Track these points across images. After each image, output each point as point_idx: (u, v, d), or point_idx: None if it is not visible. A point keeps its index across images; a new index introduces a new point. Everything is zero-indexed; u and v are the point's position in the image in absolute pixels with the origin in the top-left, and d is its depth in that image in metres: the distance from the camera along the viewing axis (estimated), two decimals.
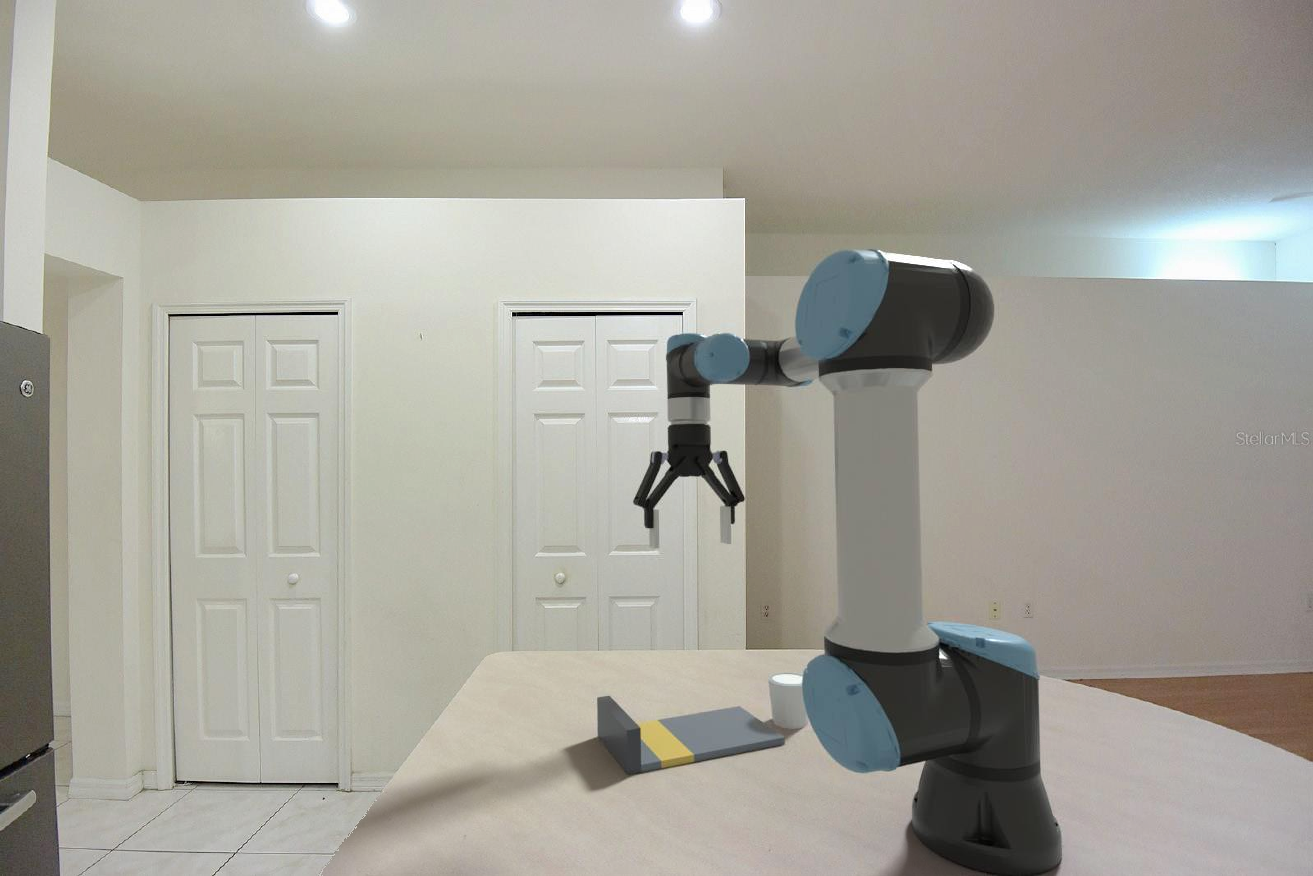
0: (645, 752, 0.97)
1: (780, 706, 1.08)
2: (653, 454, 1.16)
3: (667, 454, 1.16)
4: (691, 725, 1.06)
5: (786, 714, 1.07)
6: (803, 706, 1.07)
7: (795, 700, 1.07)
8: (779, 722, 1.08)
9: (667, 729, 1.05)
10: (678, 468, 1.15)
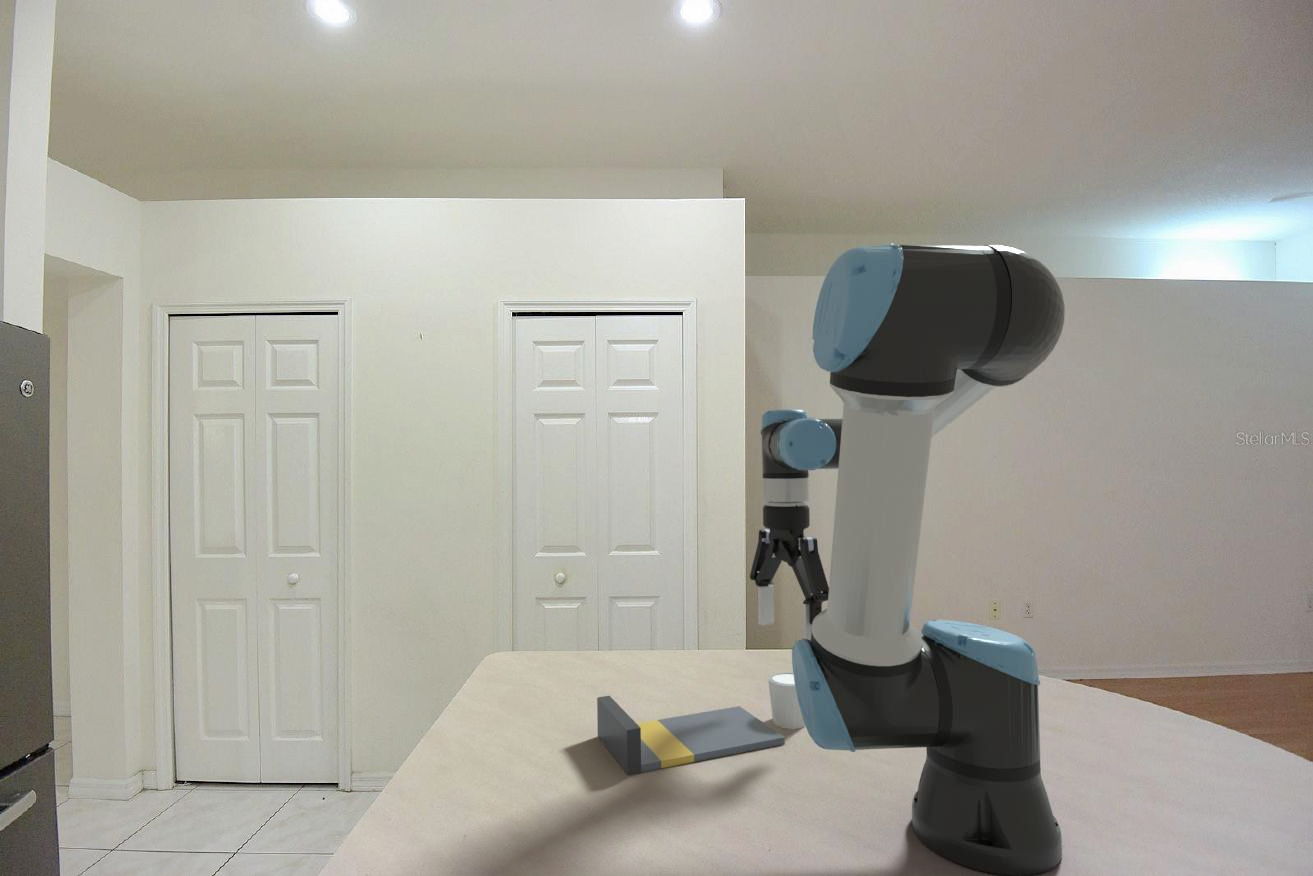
0: (645, 752, 0.97)
1: (780, 706, 1.08)
2: None
3: None
4: (691, 725, 1.06)
5: (786, 714, 1.07)
6: None
7: (795, 700, 1.07)
8: (779, 722, 1.08)
9: (667, 729, 1.05)
10: (768, 550, 1.13)
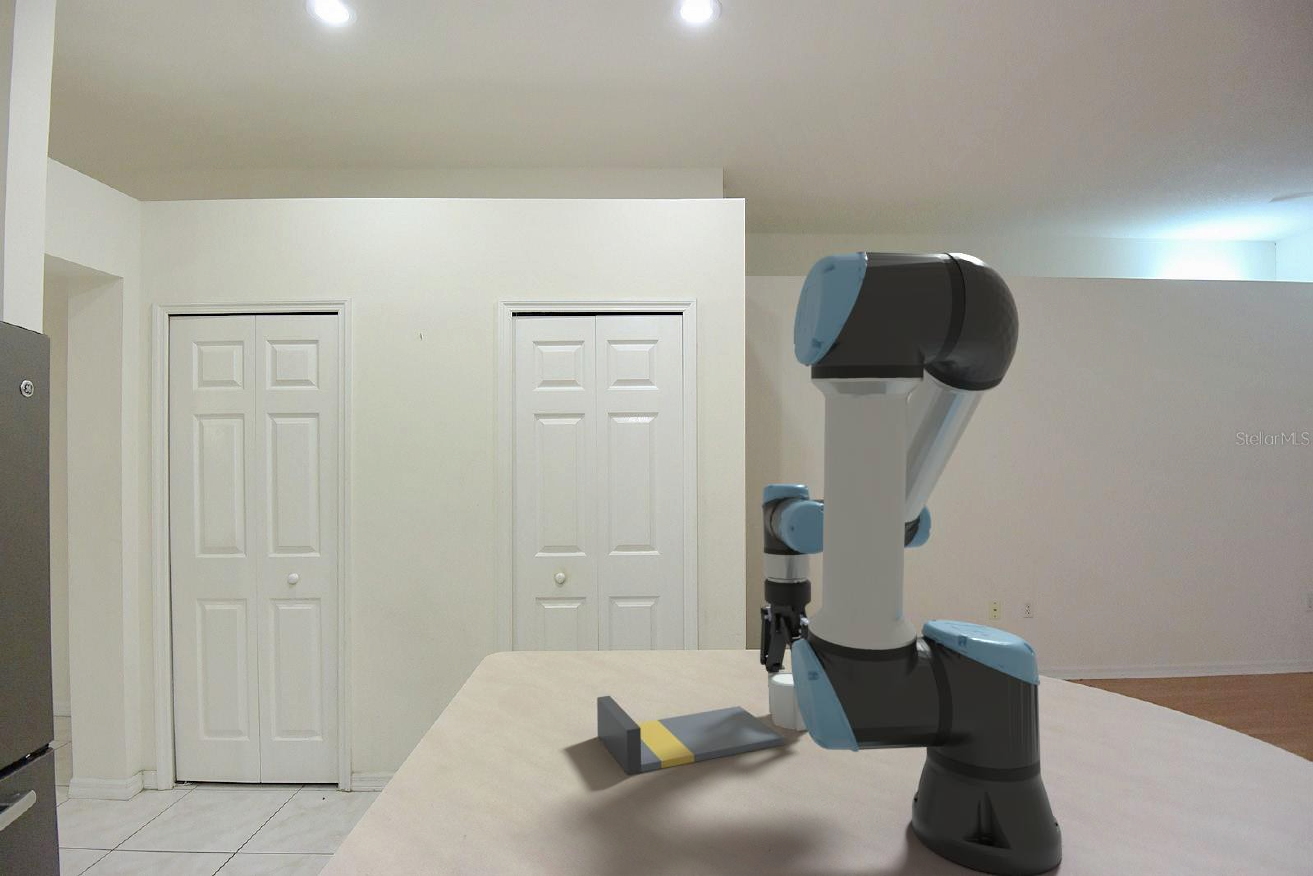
0: (645, 752, 0.97)
1: (780, 706, 1.08)
2: None
3: None
4: (691, 725, 1.06)
5: (786, 713, 1.07)
6: None
7: None
8: (779, 722, 1.08)
9: (667, 729, 1.05)
10: (771, 627, 1.12)
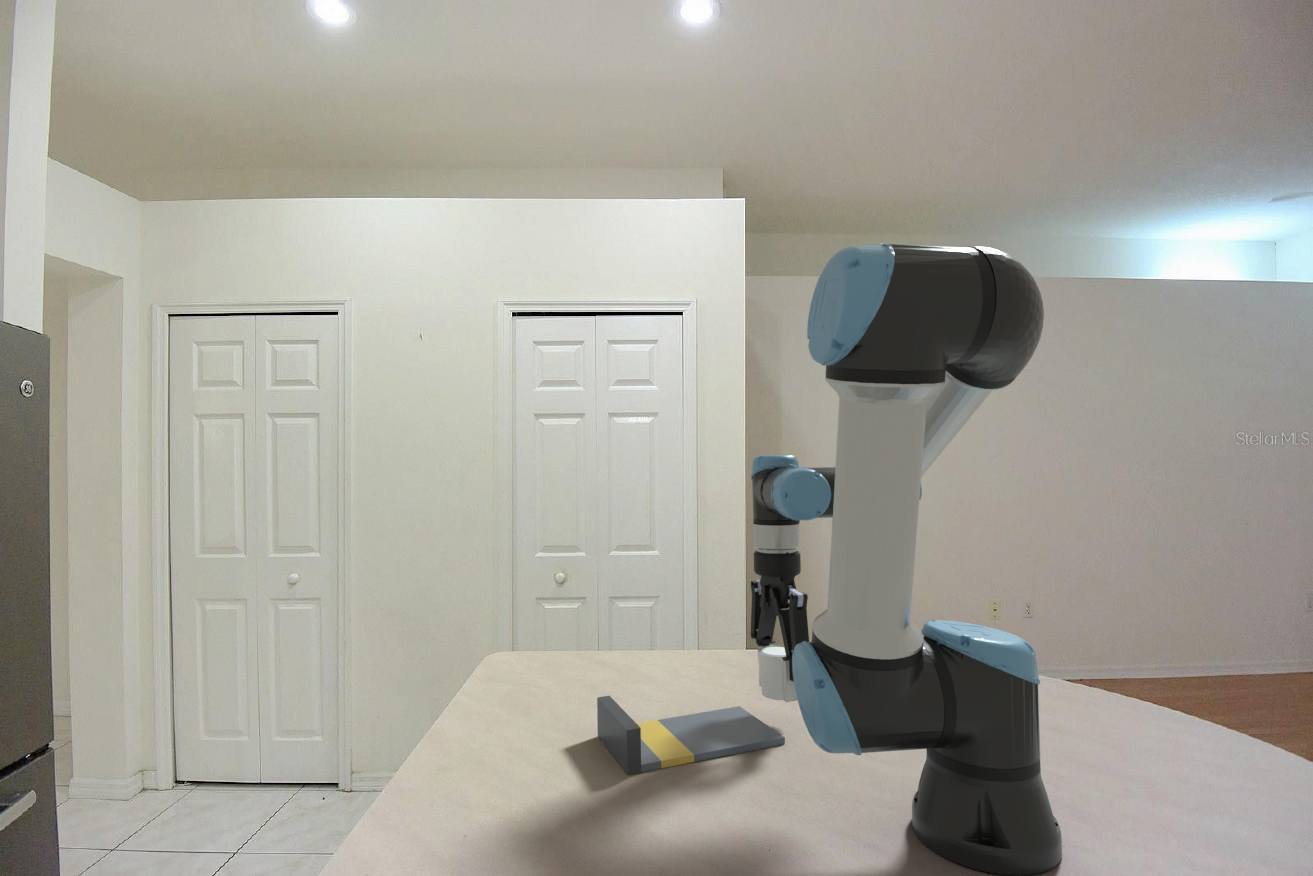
0: (645, 752, 0.97)
1: (769, 677, 1.07)
2: None
3: None
4: (691, 725, 1.06)
5: (775, 685, 1.07)
6: None
7: None
8: (768, 694, 1.07)
9: (667, 729, 1.05)
10: (761, 599, 1.11)
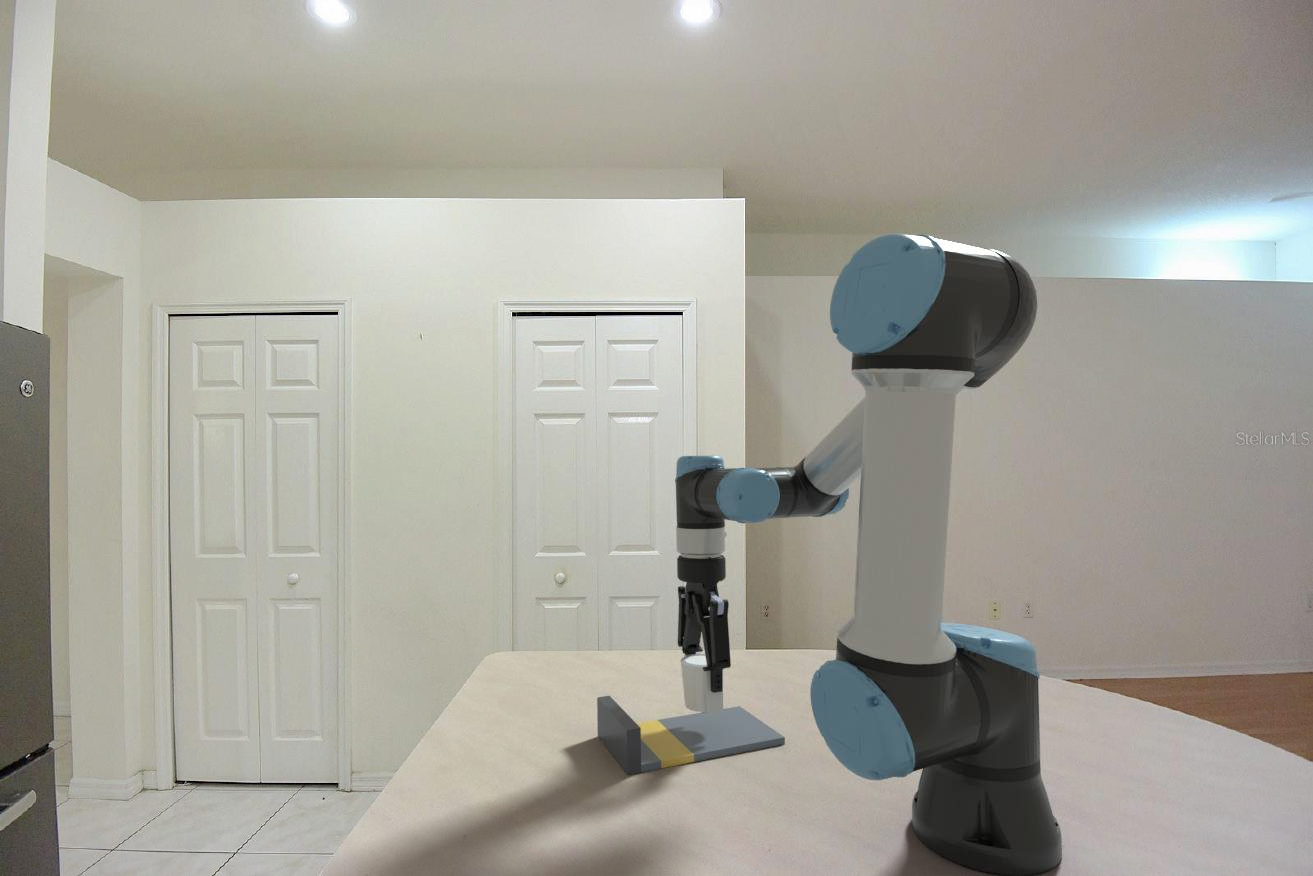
0: (645, 752, 0.97)
1: (690, 688, 1.02)
2: None
3: None
4: (691, 725, 1.06)
5: (696, 696, 1.02)
6: None
7: None
8: (690, 705, 1.02)
9: (667, 729, 1.05)
10: (686, 605, 1.06)
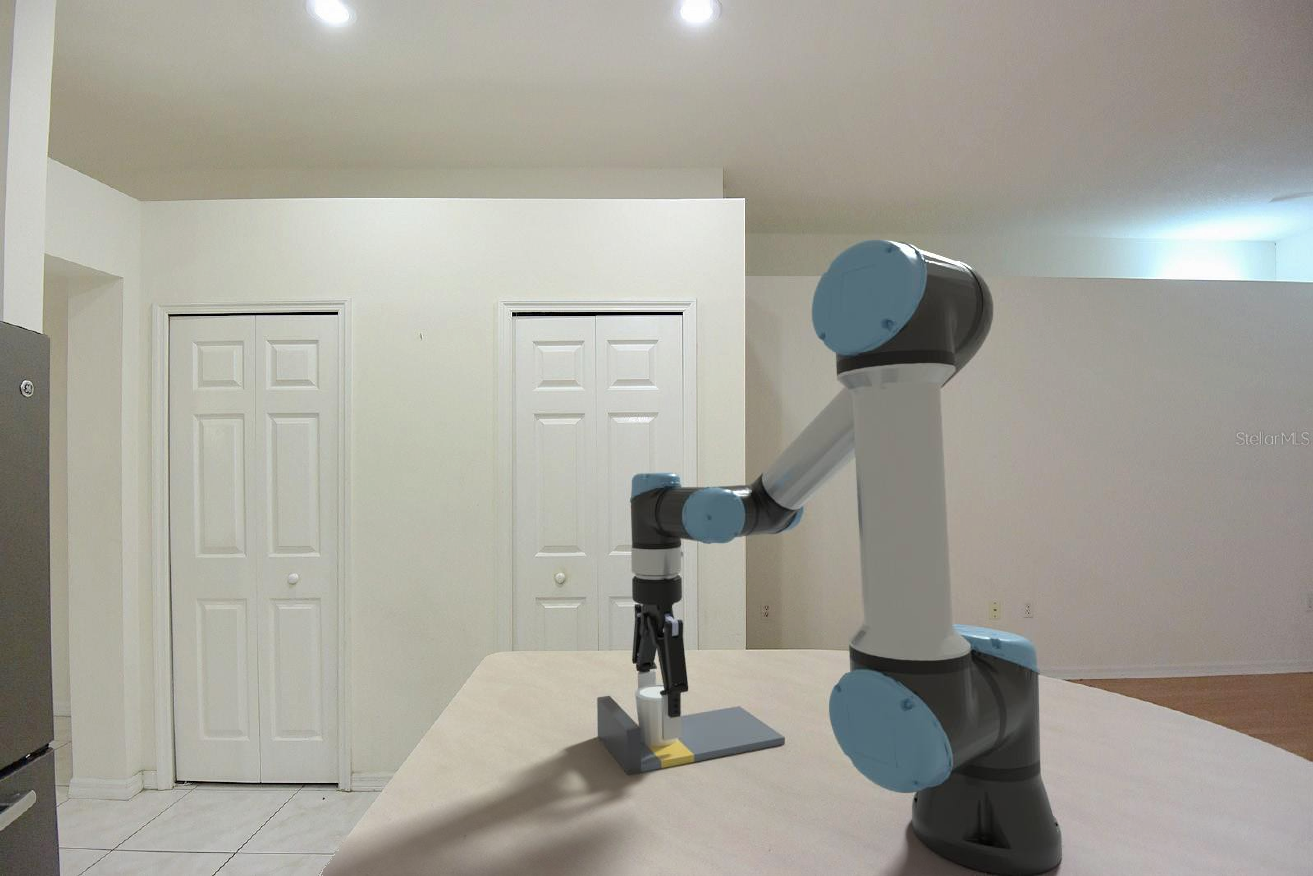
0: (645, 752, 0.97)
1: (645, 722, 0.99)
2: None
3: None
4: (691, 725, 1.06)
5: (650, 730, 0.99)
6: None
7: (660, 715, 0.98)
8: (644, 739, 1.00)
9: None
10: (641, 626, 1.04)
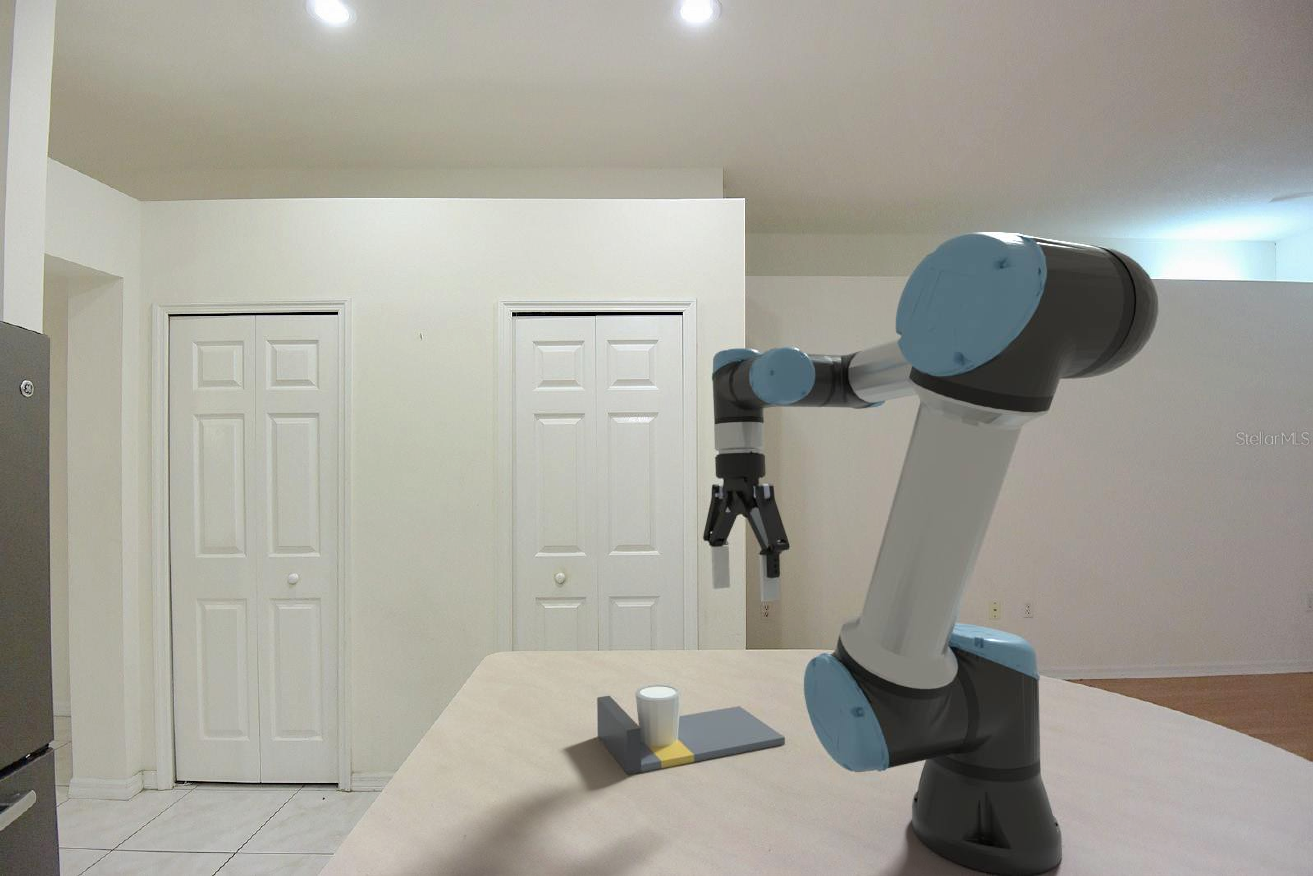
0: (645, 752, 0.97)
1: (645, 722, 0.99)
2: None
3: None
4: (691, 725, 1.06)
5: (650, 730, 0.99)
6: (669, 722, 0.99)
7: (660, 715, 0.98)
8: (644, 739, 1.00)
9: None
10: (722, 503, 1.04)
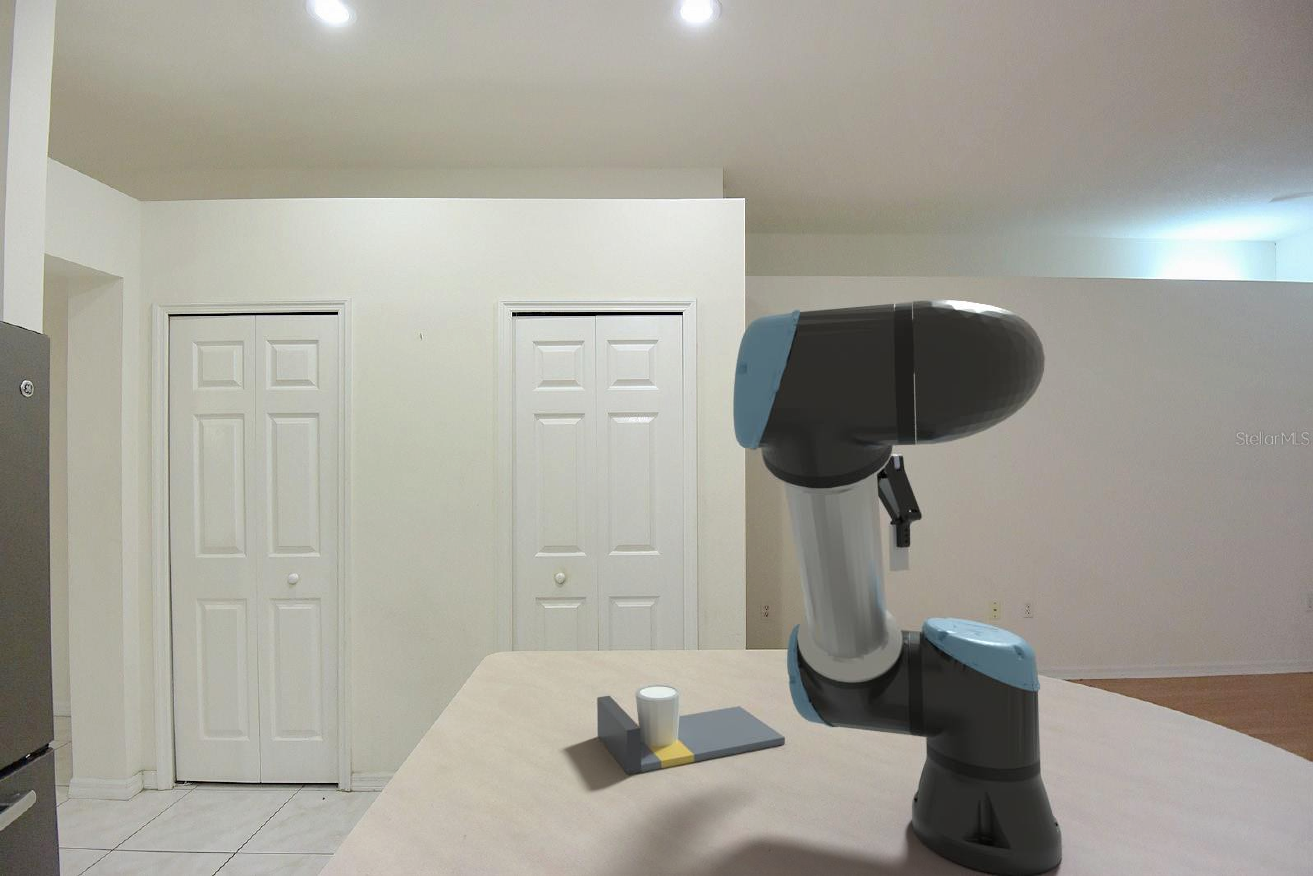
0: (645, 752, 0.97)
1: (645, 722, 0.99)
2: None
3: None
4: (691, 725, 1.06)
5: (650, 730, 0.99)
6: (669, 722, 0.99)
7: (660, 715, 0.98)
8: (644, 739, 1.00)
9: None
10: None
